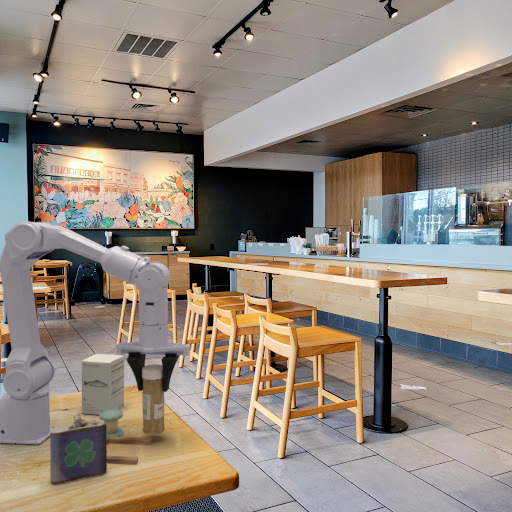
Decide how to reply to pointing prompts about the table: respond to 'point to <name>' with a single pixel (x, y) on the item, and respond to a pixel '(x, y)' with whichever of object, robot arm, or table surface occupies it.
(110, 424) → the bobbin
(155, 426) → the spice jar
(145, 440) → the u-shaped brown frame
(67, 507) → the table surface
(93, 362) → the supplement box
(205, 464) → the table surface
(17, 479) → the table surface
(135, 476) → the table surface
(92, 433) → the flask
